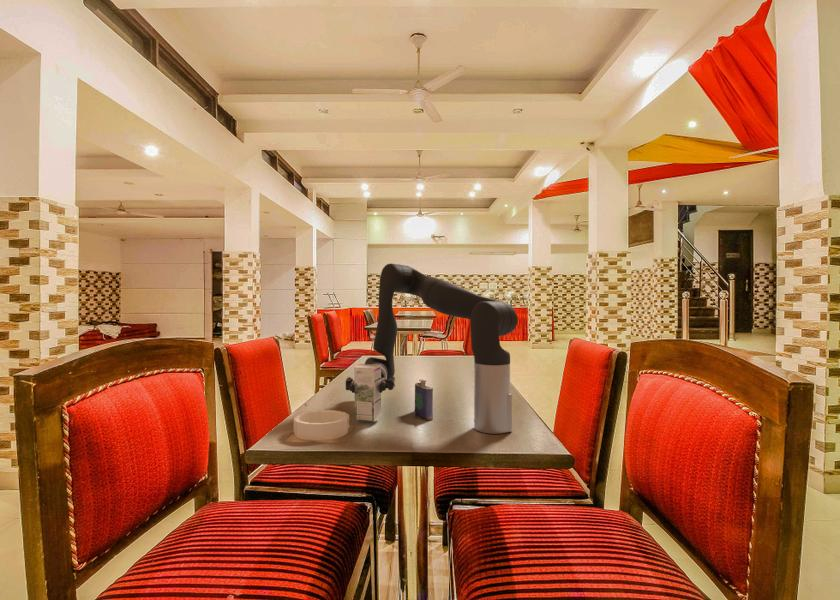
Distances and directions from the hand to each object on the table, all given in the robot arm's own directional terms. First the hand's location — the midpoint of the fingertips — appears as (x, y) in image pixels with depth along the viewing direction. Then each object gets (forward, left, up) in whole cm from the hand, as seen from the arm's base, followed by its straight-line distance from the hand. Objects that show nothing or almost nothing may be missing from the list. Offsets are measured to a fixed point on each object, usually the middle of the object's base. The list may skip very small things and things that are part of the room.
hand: (366, 388), depth 118 cm
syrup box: (0, -2, -9) cm, 9 cm away
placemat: (+10, +8, -10) cm, 16 cm away
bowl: (+10, +8, -9) cm, 16 cm away
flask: (-15, -10, -10) cm, 21 cm away
